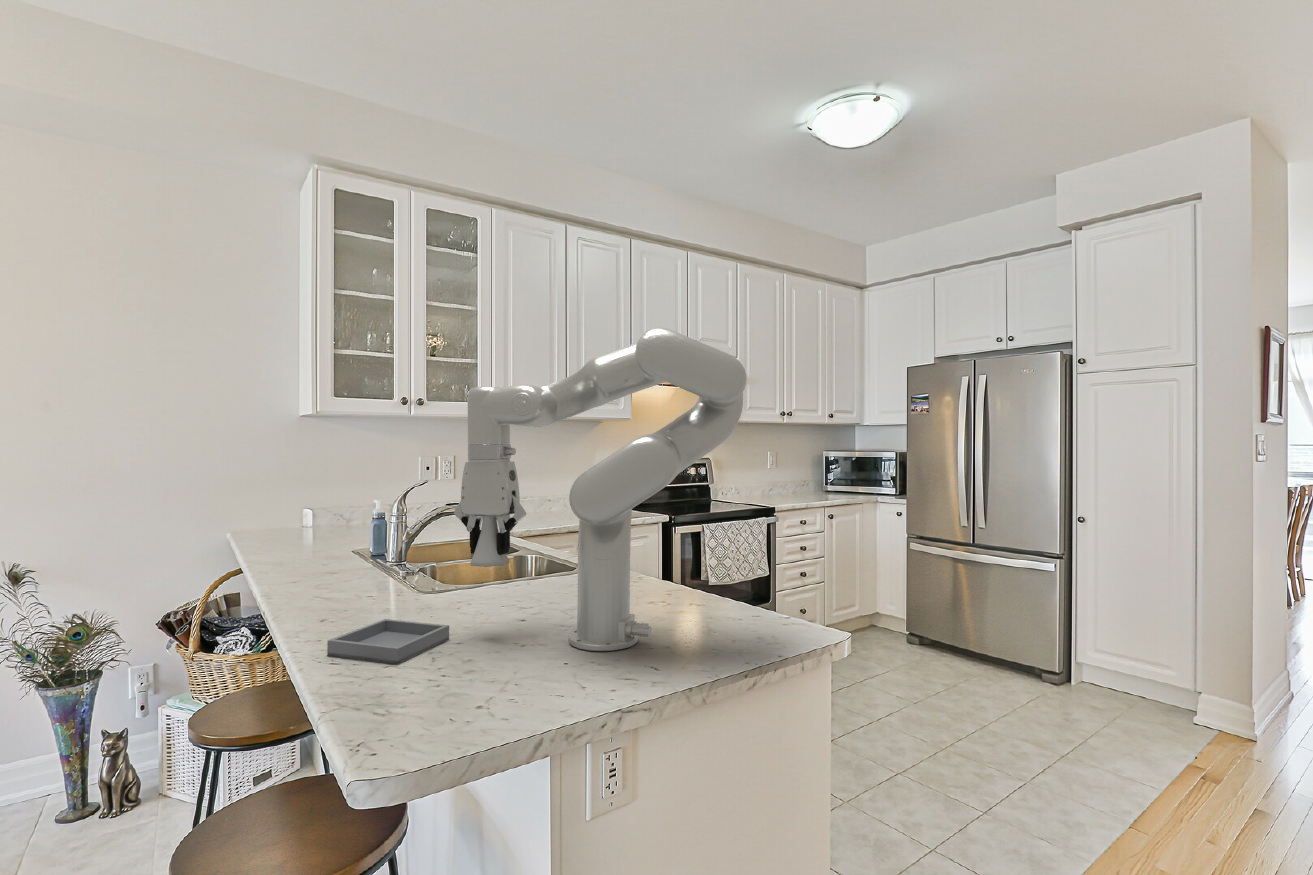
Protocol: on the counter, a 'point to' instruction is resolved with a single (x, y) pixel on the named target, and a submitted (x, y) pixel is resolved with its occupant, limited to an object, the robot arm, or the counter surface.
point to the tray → (388, 641)
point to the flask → (488, 545)
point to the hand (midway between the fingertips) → (489, 552)
